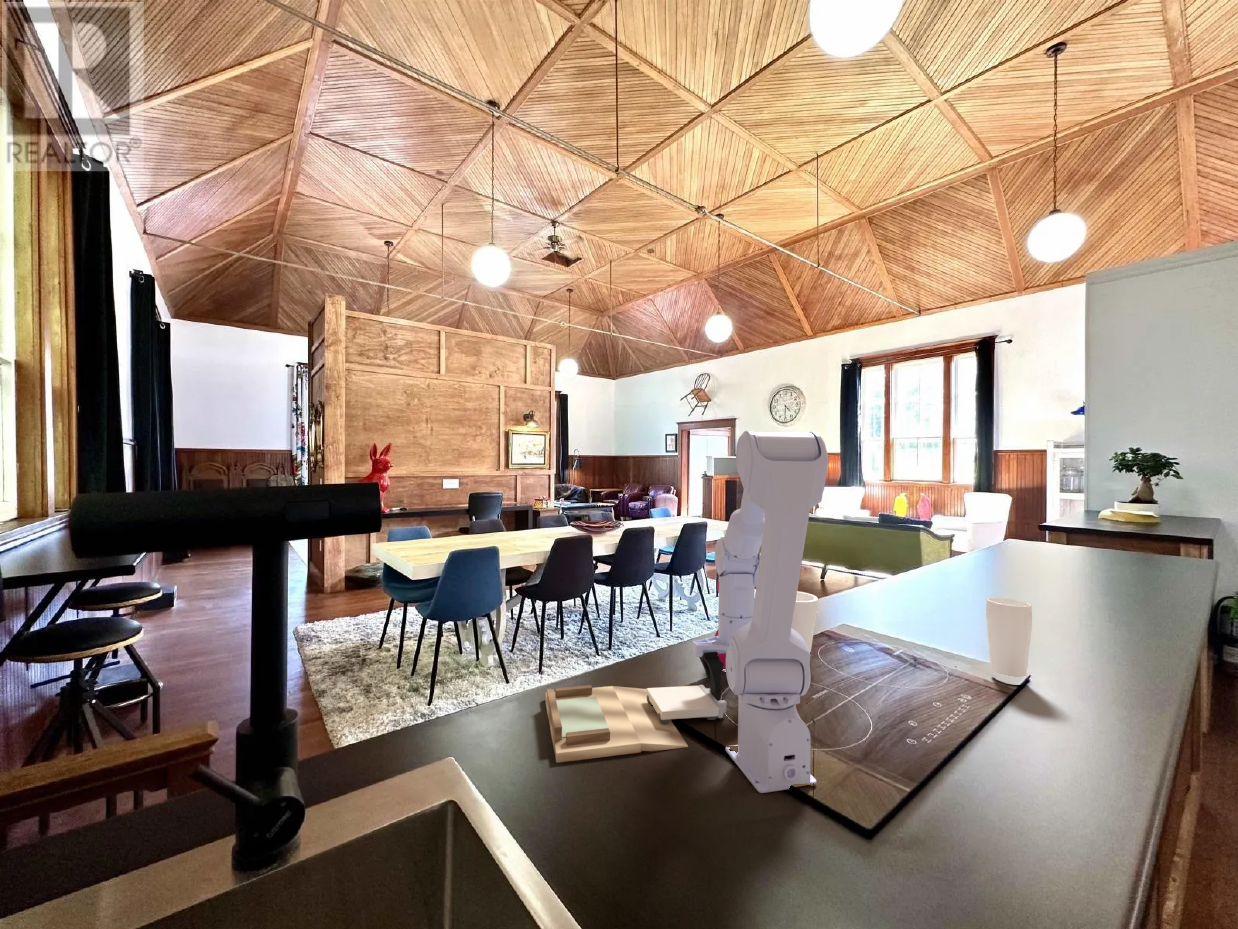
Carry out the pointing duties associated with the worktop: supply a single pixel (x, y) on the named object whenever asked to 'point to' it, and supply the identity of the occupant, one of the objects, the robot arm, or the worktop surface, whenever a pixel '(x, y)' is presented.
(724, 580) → the robot arm
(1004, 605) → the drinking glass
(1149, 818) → the worktop surface
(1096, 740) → the worktop surface
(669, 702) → the white tabbed block
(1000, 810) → the worktop surface
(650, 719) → the dock
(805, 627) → the foam cup
